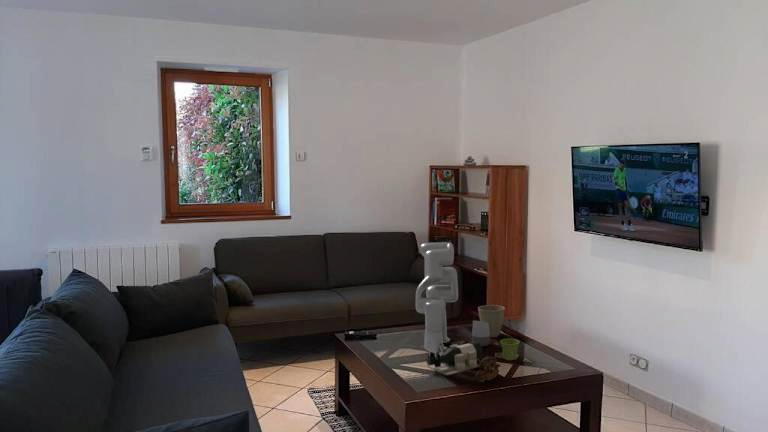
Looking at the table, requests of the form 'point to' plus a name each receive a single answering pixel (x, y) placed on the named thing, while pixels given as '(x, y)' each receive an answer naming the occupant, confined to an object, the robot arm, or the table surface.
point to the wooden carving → (487, 369)
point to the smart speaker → (481, 333)
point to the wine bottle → (461, 349)
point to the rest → (457, 363)
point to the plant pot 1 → (492, 318)
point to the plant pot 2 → (510, 348)
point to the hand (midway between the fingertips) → (435, 365)
